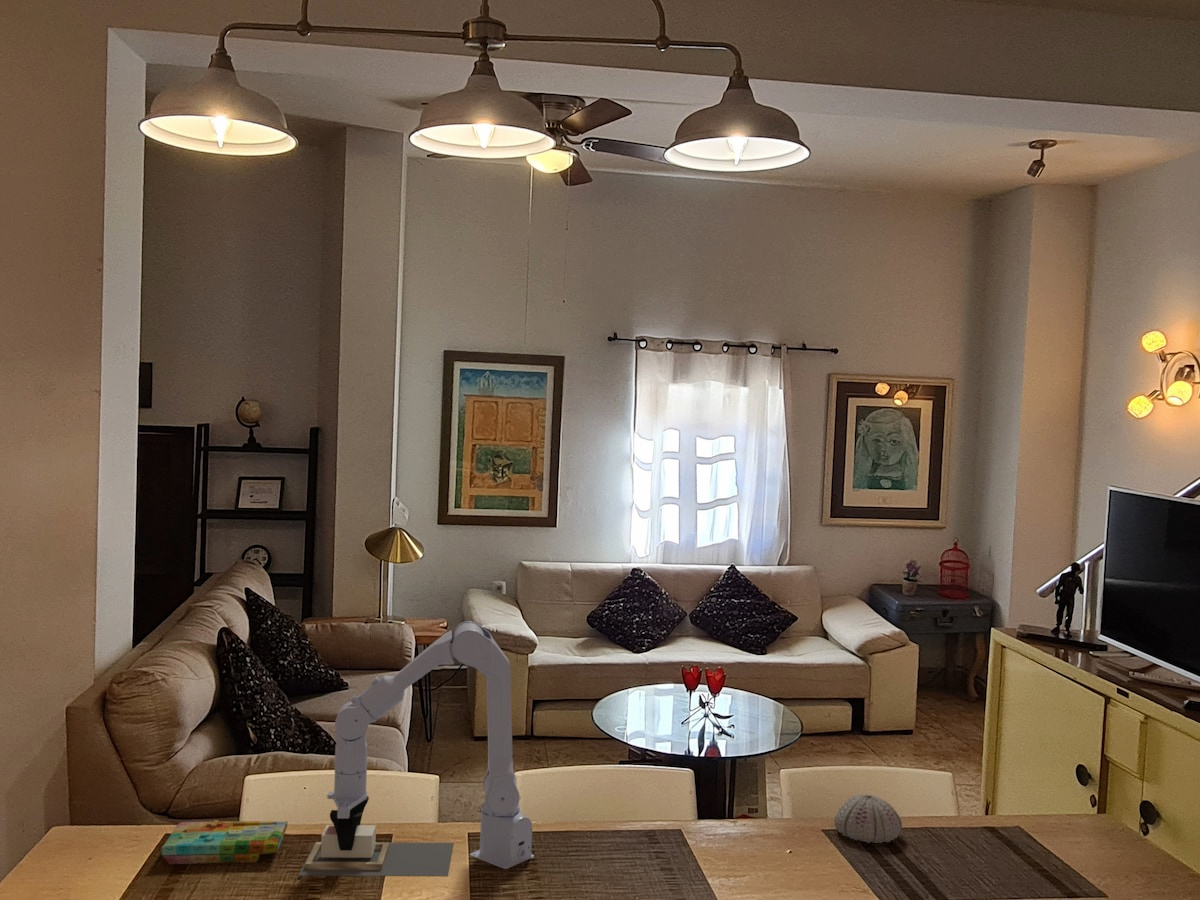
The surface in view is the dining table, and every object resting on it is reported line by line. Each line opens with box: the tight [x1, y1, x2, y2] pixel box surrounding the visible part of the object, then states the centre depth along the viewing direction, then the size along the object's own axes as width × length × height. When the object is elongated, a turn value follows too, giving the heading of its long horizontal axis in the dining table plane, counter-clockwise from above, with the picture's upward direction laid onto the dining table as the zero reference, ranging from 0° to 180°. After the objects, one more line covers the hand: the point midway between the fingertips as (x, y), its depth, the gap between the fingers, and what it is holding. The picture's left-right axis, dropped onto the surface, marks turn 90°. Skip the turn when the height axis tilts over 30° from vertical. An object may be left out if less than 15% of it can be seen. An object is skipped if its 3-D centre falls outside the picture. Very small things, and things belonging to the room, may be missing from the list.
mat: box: [298, 841, 455, 879], centre depth 193 cm, size 26×15×1 cm, turn 94°
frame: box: [304, 841, 389, 870], centre depth 193 cm, size 14×10×1 cm
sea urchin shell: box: [834, 794, 903, 844], centre depth 214 cm, size 13×14×8 cm
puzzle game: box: [160, 819, 288, 865], centre depth 195 cm, size 12×5×20 cm
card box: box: [320, 824, 377, 858], centre depth 193 cm, size 9×5×4 cm, turn 94°
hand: (348, 843), depth 193 cm, fingers closed on card box, 5 cm apart
